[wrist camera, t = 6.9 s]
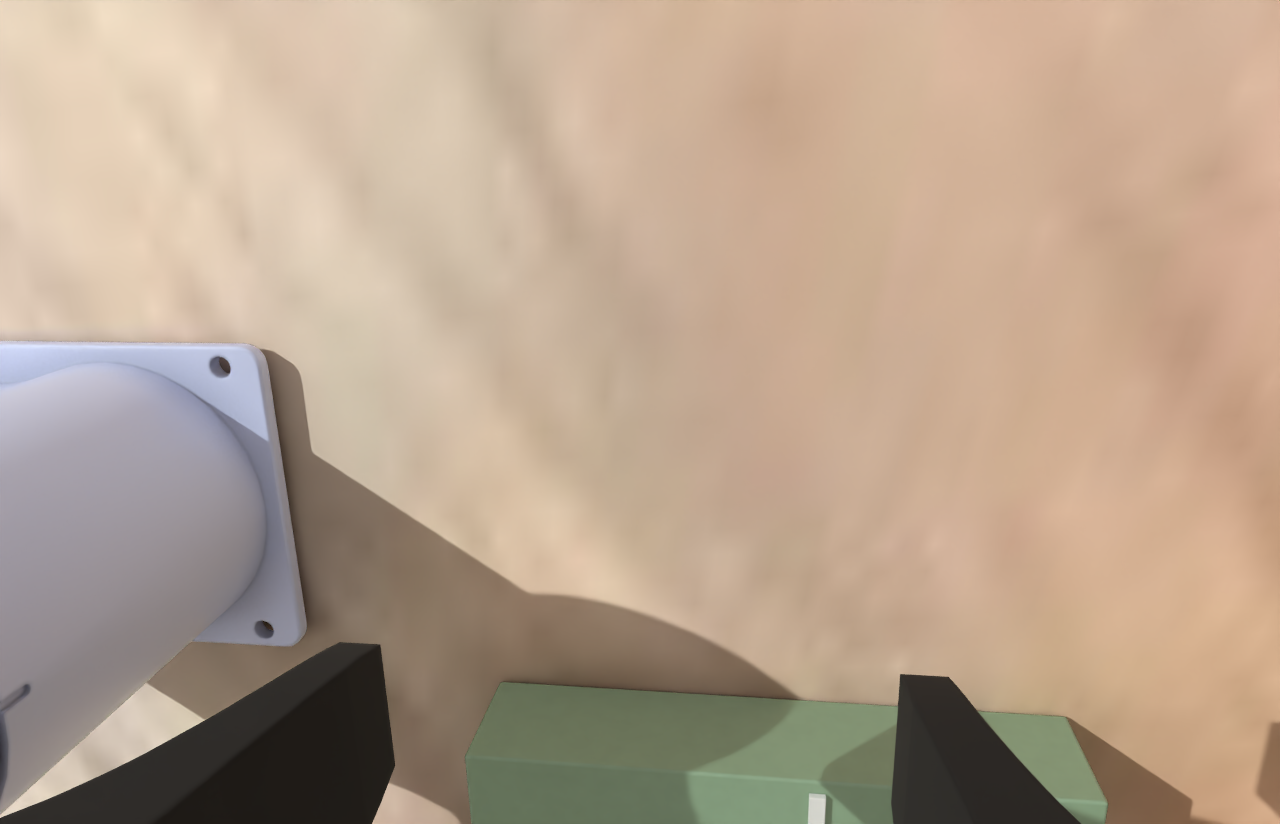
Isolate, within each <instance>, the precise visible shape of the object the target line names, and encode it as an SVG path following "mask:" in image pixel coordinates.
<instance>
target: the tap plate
mask: <svg viewBox="0 0 1280 824" xmlns="http://www.w3.org/2000/svg"><path fill="white" fill-rule="evenodd" d="M978 712H979V714H980V715H981V716H982V717H983V718H984V720H985V721H986V722H987V723H988V724H989V726H990V727H991V728H992V729H993V730H994V731H995V733H996V734H997V735H998V736H999V737H1000V739H1001V740H1002V741H1003V742H1004V743H1005V744H1006V745H1007V747H1008V748H1009V749H1010V750H1011V751H1012V752H1013V753H1014V755H1015V756H1016V757H1017V758H1018V759H1019V760H1020V761H1021V762H1022V763H1023V764H1024V765H1025V767H1026V768H1027V769H1028V770H1029V771H1030V772H1031V773H1032V774H1033V775H1034V776H1035V777H1036V778H1037V780H1038V781H1039V782H1040V783H1041V784H1042V785H1043V786H1044V787H1045V788H1046V789H1047V790H1048V791H1049V792H1050V793H1051V794H1052V795H1053V796H1054V797H1055V799H1056V800H1057V801H1058V802H1059V803H1060V804H1061V805H1062V806H1063V807H1065V808H1066V809H1067V810H1068V811H1069V812H1070V813H1071V814H1072V815H1073V816H1074V817H1075V818H1076V819H1077V820H1078V821H1079V822H1080V823H1081V824H1105V821H1106V815H1107V809H1108V802H1107V800H1106V798H1105V796H1104V794H1103V792H1102V790H1101V788H1100V785H1099V783H1098V781H1097V779H1096V777H1095V775H1094V773H1093V771H1092V769H1091V767H1090V765H1089V763H1088V761H1087V759H1086V757H1085V755H1084V753H1083V751H1082V749H1081V746H1080V744H1079V742H1078V740H1077V738H1076V736H1075V734H1074V732H1073V730H1072V728H1071V726H1070V724H1069V722H1068V720H1067V718H1066V717H1063V716H1048V715H1032V714H1015V713H999V712H983V711H978ZM897 714H898V706H885V705H869V704H853V703H837V702H820V701H804V700H788V699H772V698H756V697H739V696H723V695H707V694H691V693H674V692H658V691H642V690H626V689H609V688H593V687H577V686H561V685H544V684H528V683H512V682H501V683H500V684H499V686H498V689H497V691H496V693H495V695H494V697H493V699H492V701H491V703H490V705H489V707H488V709H487V711H486V714H485V716H484V718H483V720H482V722H481V724H480V726H479V728H478V730H477V732H476V734H475V736H474V739H473V741H472V743H471V745H470V747H469V749H468V751H467V753H466V755H465V763H466V773H467V783H468V794H469V804H470V814H471V824H893V816H892V807H891V797H892V783H893V769H894V756H895V742H896V728H897Z"/></svg>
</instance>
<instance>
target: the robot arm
mask: <svg viewBox="0 0 1280 824" xmlns="http://www.w3.org/2000/svg"><path fill="white" fill-rule="evenodd" d="M220 357H223V358H225V359H226V360H227V361H228V362H229V364H230V367H231V371H230V373H226V372H225V371H224V370H223V369H222V368H221V366H220V364H219V359H220ZM262 621H266V622H268V623H269V624H270V625H272V627H273V630H274V631H272V630H269V629H267V628H266V627H265V626H264V624H263V622H262ZM306 631H307V622H306V615H305V609H304V602H303V595H302V589H301V582H300V575H299V569H298V562H297V555H296V549H295V542H294V536H293V529H292V522H291V516H290V509H289V502H288V496H287V489H286V482H285V476H284V469H283V462H282V456H281V449H280V443H279V436H278V429H277V423H276V416H275V409H274V403H273V396H272V389H271V383H270V376H269V370H268V364H267V361H266V358H265V356H264V354H263V353H262V352H261V351H260V349H258V348H256V347H255V346H253V345H250V344H245V343H160V342H62V341H0V814H1V813H3V812H4V811H5V810H6V809H7V808H8V807H9V806H10V805H11V804H12V803H14V802H15V801H16V800H17V799H18V798H19V797H20V796H21V795H22V794H24V793H25V792H26V791H27V790H28V789H29V788H30V787H31V786H32V785H33V784H35V783H36V782H37V781H38V780H39V779H40V778H41V777H42V776H43V775H45V774H46V773H47V772H48V771H49V770H50V769H51V768H52V767H53V766H54V765H56V764H57V763H58V762H59V761H60V760H61V759H62V758H63V757H64V756H66V755H67V754H68V753H69V752H70V751H71V750H72V749H73V748H74V747H75V746H77V745H78V744H79V743H80V742H81V741H82V740H83V739H84V738H85V737H86V736H88V735H89V734H90V733H91V732H92V731H93V730H94V729H95V728H96V727H98V726H99V725H100V724H101V723H102V722H103V721H104V720H105V719H106V718H107V717H109V716H110V715H111V714H112V713H113V712H114V711H115V710H116V709H117V708H119V707H120V706H121V705H122V704H123V703H124V702H125V701H126V700H127V699H128V698H130V697H131V696H132V695H133V694H134V693H135V692H136V691H137V690H138V689H139V688H141V687H142V686H143V685H144V684H145V683H146V682H147V681H148V680H149V679H151V678H152V677H153V676H154V675H155V674H156V673H157V672H158V671H159V670H160V669H162V668H163V667H164V666H165V665H166V664H167V663H168V662H169V661H170V660H172V659H173V658H174V657H175V656H176V655H177V654H178V653H179V652H180V651H181V650H183V649H184V648H185V647H186V646H187V645H188V644H189V643H190V642H191V641H196V642H213V643H230V644H248V645H265V646H282V647H288V646H293V645H295V644H296V643H298V642H299V641H300V640H301V638H302V637H303V636H304V635H305V633H306ZM394 767H395V760H394V752H393V744H392V736H391V728H390V720H389V712H388V704H387V696H386V688H385V679H384V671H383V663H382V655H381V647H380V645H378V644H360V643H343V642H340V643H338V644H336V645H334V646H331V647H329V648H327V649H326V650H324V651H322V652H320V653H318V654H316V655H315V656H313V657H311V658H309V659H308V660H306V661H304V662H303V663H301V664H299V665H297V666H296V667H294V668H292V669H291V670H289V671H287V672H286V673H284V674H282V675H281V676H279V677H278V678H276V679H274V680H273V681H271V682H269V683H268V684H266V685H264V686H263V687H261V688H259V689H258V690H256V691H254V692H253V693H251V694H249V695H248V696H246V697H244V698H243V699H241V700H239V701H238V702H236V703H234V704H233V705H231V706H229V707H228V708H226V709H224V710H223V711H221V712H219V713H217V714H216V715H214V716H212V717H210V718H209V719H207V720H205V721H203V722H201V723H200V724H198V725H196V726H194V727H192V728H191V729H189V730H187V731H185V732H183V733H182V734H180V735H178V736H176V737H174V738H172V739H171V740H169V741H167V742H165V743H163V744H162V745H160V746H158V747H156V748H154V749H153V750H151V751H149V752H147V753H145V754H143V755H141V756H139V757H137V758H135V759H133V760H132V761H130V762H128V763H126V764H124V765H121V766H119V767H117V768H115V769H113V770H111V771H109V772H107V773H105V774H103V775H101V776H99V777H96V778H94V779H92V780H90V781H88V782H85V783H83V784H81V785H79V786H77V787H75V788H72V789H70V790H68V791H66V792H64V793H61V794H59V795H57V796H54V797H52V798H50V799H47V800H45V801H42V802H40V803H37V804H35V805H32V806H30V807H27V808H24V809H22V810H19V811H17V812H14V813H12V814H9V815H7V816H4V817H1V818H0V824H372V822H373V820H374V817H375V815H376V813H377V810H378V808H379V806H380V803H381V801H382V798H383V796H384V793H385V790H386V788H387V785H388V783H389V780H390V777H391V775H392V772H393V770H394ZM891 807H892V816H893V824H1081V823H1080V822H1079V821H1078V820H1077V819H1076V818H1075V817H1074V816H1073V815H1072V814H1071V813H1070V812H1069V811H1068V810H1067V809H1066V808H1065V807H1063V806H1062V805H1061V804H1060V803H1059V802H1058V801H1057V800H1056V799H1055V797H1054V796H1053V795H1052V794H1051V793H1050V792H1049V791H1048V790H1047V789H1046V788H1045V787H1044V786H1043V785H1042V784H1041V783H1040V782H1039V781H1038V780H1037V778H1036V777H1035V776H1034V775H1033V774H1032V773H1031V772H1030V771H1029V770H1028V769H1027V768H1026V767H1025V765H1024V764H1023V763H1022V762H1021V761H1020V760H1019V759H1018V758H1017V757H1016V756H1015V755H1014V753H1013V752H1012V751H1011V750H1010V749H1009V748H1008V747H1007V745H1006V744H1005V743H1004V742H1003V741H1002V740H1001V739H1000V737H999V736H998V735H997V734H996V733H995V731H994V730H993V729H992V728H991V727H990V726H989V724H988V723H987V722H986V721H985V720H984V718H983V717H982V716H981V715H980V714H979V712H978V711H977V710H976V709H975V708H974V706H973V705H972V704H971V703H970V701H969V700H968V699H967V698H966V697H965V695H964V694H963V693H962V692H961V691H960V689H959V688H958V687H957V686H956V685H955V684H954V682H953V681H952V680H951V679H950V678H949V677H940V676H922V675H905V674H900V687H899V701H898V714H897V728H896V742H895V756H894V769H893V783H892V797H891Z"/></svg>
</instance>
